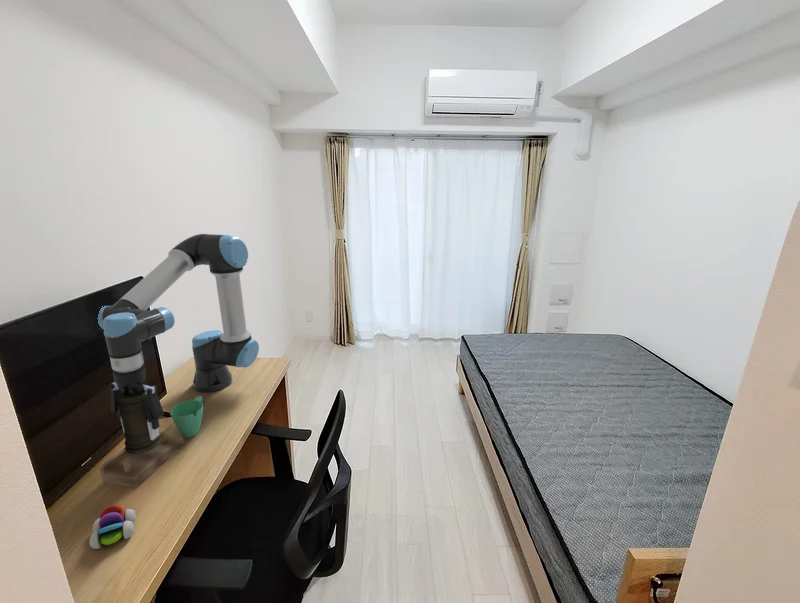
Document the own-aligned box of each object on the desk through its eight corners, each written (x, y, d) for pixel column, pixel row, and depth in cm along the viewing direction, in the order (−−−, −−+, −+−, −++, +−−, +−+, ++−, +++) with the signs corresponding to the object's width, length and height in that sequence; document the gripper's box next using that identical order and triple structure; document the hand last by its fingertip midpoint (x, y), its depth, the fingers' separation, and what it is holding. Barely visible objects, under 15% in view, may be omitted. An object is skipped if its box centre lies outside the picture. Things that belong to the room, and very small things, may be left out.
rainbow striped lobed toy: (137, 513, 100) (132, 491, 98) (133, 542, 92) (128, 519, 90) (97, 526, 96) (91, 503, 94) (89, 558, 88) (82, 533, 86)
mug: (198, 442, 127) (194, 416, 124) (168, 442, 127) (163, 416, 124) (217, 416, 141) (214, 393, 138) (190, 416, 141) (186, 392, 138)
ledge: (154, 440, 127) (151, 425, 125) (183, 445, 126) (181, 429, 124) (103, 482, 109) (98, 465, 107) (136, 488, 108) (133, 470, 106)
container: (168, 438, 118) (159, 387, 113) (141, 457, 110) (130, 403, 105) (145, 433, 121) (135, 382, 115) (118, 450, 112) (106, 397, 107)
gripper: (84, 369, 106) (100, 438, 112) (151, 377, 103) (163, 447, 109) (108, 358, 113) (122, 424, 119) (171, 364, 110) (182, 432, 116)
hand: (142, 435), depth 114 cm, fingers closed on container, 8 cm apart
